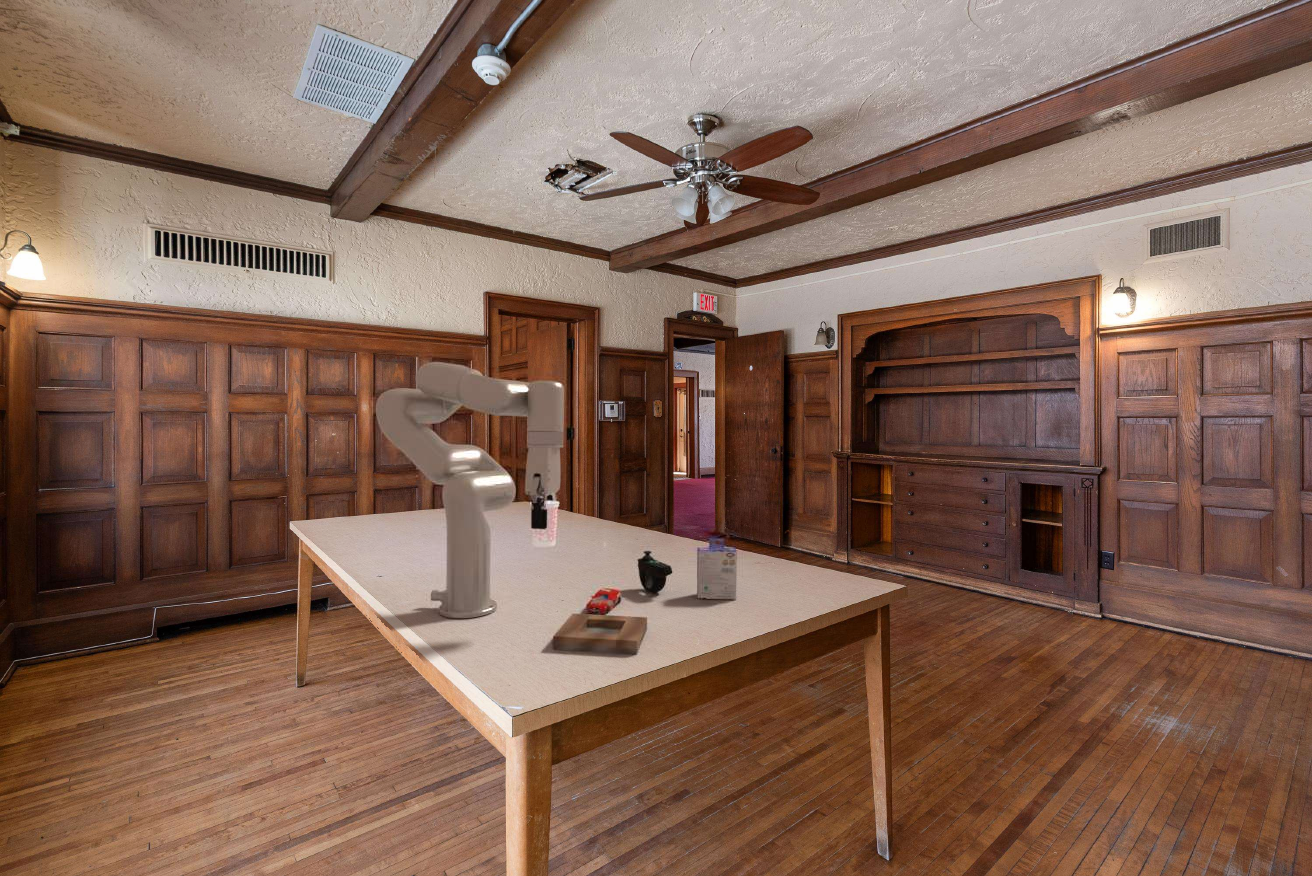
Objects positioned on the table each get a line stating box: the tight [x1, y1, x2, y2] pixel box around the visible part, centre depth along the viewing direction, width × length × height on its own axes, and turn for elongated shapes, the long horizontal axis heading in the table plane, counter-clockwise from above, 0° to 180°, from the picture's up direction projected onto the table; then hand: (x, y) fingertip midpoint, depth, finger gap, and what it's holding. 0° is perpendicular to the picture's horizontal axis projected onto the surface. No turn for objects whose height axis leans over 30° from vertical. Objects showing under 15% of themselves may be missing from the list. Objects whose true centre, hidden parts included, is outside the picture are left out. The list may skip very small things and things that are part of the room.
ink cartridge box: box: [696, 537, 738, 600], centre depth 148 cm, size 10×6×14 cm, turn 89°
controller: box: [637, 550, 673, 594], centre depth 150 cm, size 4×12×10 cm, turn 32°
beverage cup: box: [529, 500, 560, 548], centre depth 123 cm, size 6×6×14 cm
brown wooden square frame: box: [552, 612, 648, 655], centre depth 116 cm, size 16×14×2 cm
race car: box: [585, 587, 622, 615], centre depth 138 cm, size 13×5×4 cm, turn 163°
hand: (544, 525), depth 123 cm, fingers closed on beverage cup, 6 cm apart
